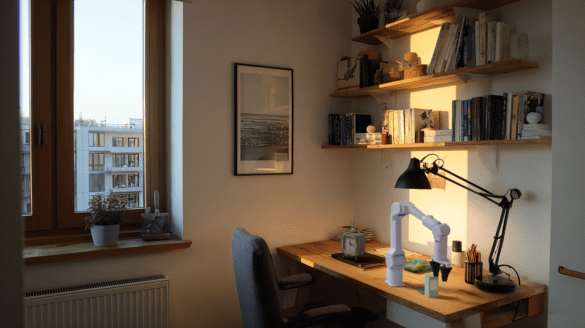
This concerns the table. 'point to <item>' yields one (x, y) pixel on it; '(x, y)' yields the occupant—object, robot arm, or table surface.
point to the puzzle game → (417, 265)
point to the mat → (420, 289)
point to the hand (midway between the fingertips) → (440, 279)
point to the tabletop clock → (353, 242)
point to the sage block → (431, 285)
